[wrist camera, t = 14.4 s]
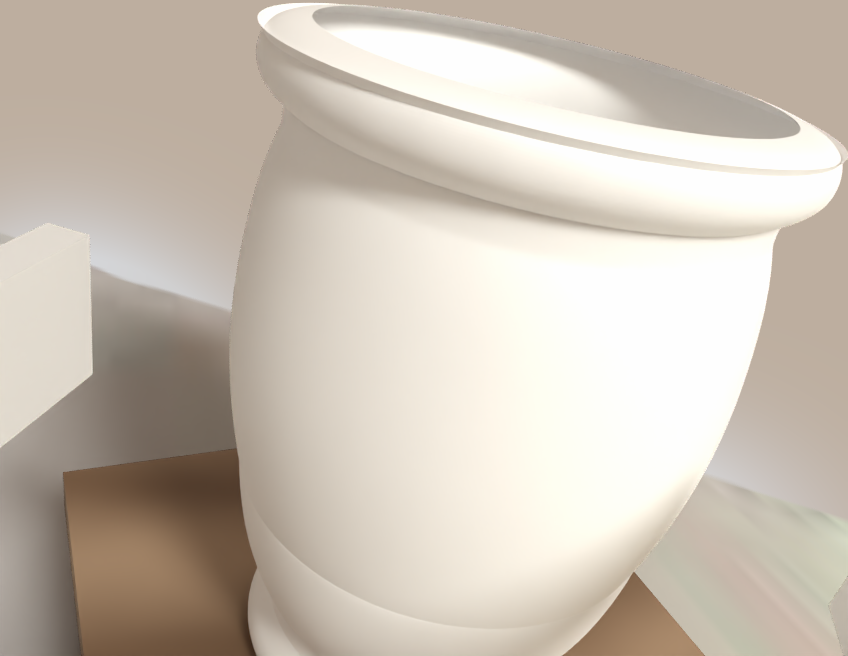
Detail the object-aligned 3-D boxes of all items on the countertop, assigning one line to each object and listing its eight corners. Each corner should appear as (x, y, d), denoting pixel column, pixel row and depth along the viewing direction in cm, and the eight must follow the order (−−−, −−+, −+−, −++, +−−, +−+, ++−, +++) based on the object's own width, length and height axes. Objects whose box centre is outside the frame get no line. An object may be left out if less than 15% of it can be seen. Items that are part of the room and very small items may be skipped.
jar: (119, 718, 17) (125, 12, 10) (295, 454, 26) (364, -14, 19) (582, 893, 16) (965, 225, 9) (598, 551, 25) (793, 89, 18)
